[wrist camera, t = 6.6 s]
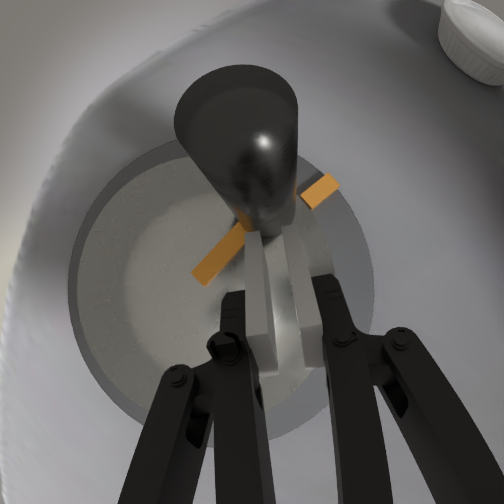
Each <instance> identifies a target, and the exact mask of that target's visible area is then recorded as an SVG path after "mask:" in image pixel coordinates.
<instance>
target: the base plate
mask: <svg viewBox="0 0 504 504" xmlns="http://www.w3.org/2000/svg"><path fill="white" fill-rule="evenodd" d="M185 157H190V156H189V155H188V153H187V152H186V151H185V149H184V148H183V147H182V145H181V144H180V142H179V140H175V141H171V142H169V143H166V144H164V145H162V146H159V147H157V148H155V149H153V150H151V151H149V152H147V153H146V154H144V155H142V156H141V157H139V158H137V159H136V160H135V161H133V162H132V163H131V164H129V165H128V166H127V167H125V168H124V169H123V170H122V171H121V172H120V173H118V174H117V175H116V176H115V177H114V178H113V179H112V180H111V181H110V182H109V183H108V185H107V186H106V187H105V188H104V190H103V191H102V192H101V193H100V195H99V196H98V197H97V199H96V200H95V202H94V203H93V205H92V206H91V208H90V210H89V211H88V213H87V215H86V217H85V219H84V221H83V223H82V226H81V228H80V230H79V233H78V236H77V239H76V242H75V245H74V248H73V252H72V257H71V262H70V268H69V278H68V303H69V311H70V318H71V323H72V327H73V331H74V335H75V339H76V341H77V344H78V347H79V349H80V352H81V354H82V357H83V359H84V361H85V363H86V364H87V366H88V368H89V370H90V372H91V374H92V375H93V377H94V378H95V380H96V381H97V382H98V384H99V385H100V387H101V388H102V389H103V390H104V392H105V393H106V394H107V395H108V396H109V397H110V398H111V400H112V401H113V402H114V403H115V404H116V405H117V406H119V407H120V408H121V409H122V410H123V411H124V412H125V413H126V414H128V415H129V416H130V417H132V418H133V419H134V420H136V421H137V422H139V423H140V424H142V425H143V426H144V424H145V421H146V418H147V415H148V413H149V411H148V410H146V409H144V408H143V407H141V406H139V405H138V404H136V403H135V402H133V401H132V400H131V399H129V398H128V397H127V396H126V395H125V394H123V393H122V392H121V391H120V390H119V389H118V388H117V387H116V386H115V385H114V384H113V383H112V382H111V380H110V379H109V378H108V377H107V376H106V374H105V373H104V372H103V370H102V369H101V367H100V366H99V364H98V363H97V361H96V359H95V357H94V356H93V354H92V352H91V350H90V348H89V345H88V343H87V340H86V338H85V335H84V332H83V328H82V325H81V321H80V316H79V310H78V301H77V279H78V270H79V264H80V258H81V255H82V251H83V248H84V245H85V242H86V239H87V237H88V235H89V232H90V230H91V228H92V226H93V224H94V222H95V221H96V219H97V217H98V215H99V214H100V212H101V211H102V210H103V208H104V207H105V206H106V204H107V203H108V202H109V201H110V199H111V198H112V197H113V196H114V195H115V194H116V193H117V192H118V191H119V190H120V189H121V188H122V187H124V186H125V185H126V184H127V183H128V182H130V181H131V180H132V179H134V178H135V177H137V176H138V175H140V174H142V173H143V172H145V171H147V170H149V169H151V168H153V167H155V166H157V165H159V164H162V163H165V162H168V161H171V160H174V159H179V158H185ZM339 186H340V185H339V184H338V182H337V181H336V180H335V179H334V178H333V177H332V176H331V175H330V174H329V173H327V174H326V175H324V174H323V173H322V172H321V171H319V170H318V169H317V168H315V167H314V166H313V165H312V164H310V163H309V162H308V161H306V160H305V159H304V158H302V157H300V156H298V155H297V188H296V194H297V195H298V196H299V197H300V198H301V199H302V201H303V202H304V203H305V204H306V206H307V207H308V208H309V210H310V211H311V212H312V214H313V215H314V217H315V219H316V220H317V222H318V224H319V226H320V227H321V229H322V231H323V233H324V236H325V238H326V241H327V243H328V246H329V249H330V252H331V256H332V260H333V265H334V269H335V277H336V278H337V279H338V280H339V283H340V286H341V288H342V291H343V294H344V298H345V300H346V303H347V306H348V308H349V311H350V314H351V317H352V320H353V323H354V325H355V327H356V328H357V329H358V330H360V331H361V332H363V333H365V334H369V330H370V325H371V321H372V316H373V305H374V278H373V268H372V263H371V258H370V253H369V249H368V245H367V243H366V240H365V237H364V234H363V232H362V229H361V226H360V224H359V222H358V220H357V218H356V217H355V215H354V213H353V211H352V209H351V207H350V206H349V204H348V203H347V201H346V200H345V199H344V197H343V196H342V194H341V193H340V192H339V190H338V188H339ZM328 403H329V397H328V389H327V387H326V370H325V367H321V368H316V369H313V370H312V371H311V373H310V374H309V375H308V377H307V378H306V380H305V381H304V382H303V383H302V384H301V385H300V386H299V387H298V388H297V389H296V390H295V391H294V392H293V393H292V394H291V395H290V396H288V397H287V398H286V399H285V400H283V401H282V402H281V403H279V404H278V405H276V406H275V407H273V408H271V409H270V410H268V411H266V412H265V419H266V427H267V435H268V440H271V439H274V438H277V437H279V436H282V435H284V434H286V433H288V432H290V431H292V430H294V429H295V428H297V427H299V426H301V425H302V424H304V423H305V422H307V421H308V420H309V419H311V418H312V417H314V416H315V415H316V414H318V413H319V412H320V411H321V410H322V409H323V408H324V407H325V406H326V405H327V404H328ZM207 447H214V426H212V428H211V432H210V436H209V440H208V443H207Z"/></svg>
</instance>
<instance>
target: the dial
mask: <svg viewBox="0 0 504 504" xmlns="http://www.w3.org/2000/svg"><path fill="white" fill-rule="evenodd" d="M174 129H175V133H176V136H177V138H178V140H179V142H180V144H181V145H182V147H183V148H184V149H185V151H186V152H187V153H188V155H189V156H190V157H185V158H179V159H174V160H171V161H168V162H165V163H162V164H159V165H157V166H155V167H153V168H151V169H149V170H147V171H145V172H143V173H142V174H140V175H138V176H137V177H135V178H134V179H132V180H131V181H130V182H128V183H127V184H126V185H125V186H124V187H122V188H121V189H120V190H119V191H118V192H117V193H116V194H115V195H114V196H113V197H112V198H111V199H110V201H109V202H108V203H107V204H106V206H105V207H104V208H103V210H102V211H101V212H100V214H99V215H98V217H97V219H96V221H95V222H94V224H93V226H92V228H91V230H90V232H89V235H88V237H87V239H86V242H85V245H84V248H83V251H82V255H81V258H80V264H79V270H78V279H77V301H78V310H79V316H80V321H81V325H82V328H83V332H84V335H85V338H86V340H87V343H88V345H89V348H90V350H91V352H92V354H93V356H94V357H95V359H96V361H97V363H98V364H99V366H100V367H101V369H102V370H103V372H104V373H105V374H106V376H107V377H108V378H109V379H110V380H111V382H112V383H113V384H114V385H115V386H116V387H117V388H118V389H119V390H120V391H121V392H122V393H123V394H125V395H126V396H127V397H128V398H129V399H131V400H132V401H133V402H135V403H136V404H138V405H139V406H141V407H143V408H144V409H146V410H148V411H149V410H150V407H151V404H152V402H153V399H154V396H155V393H156V391H157V388H158V385H159V383H160V380H161V377H162V375H163V374H164V372H165V371H166V370H167V369H168V368H169V367H171V366H174V365H176V364H185V365H188V366H189V367H190V368H193V367H196V366H199V365H201V364H204V363H206V362H208V361H209V360H210V359H211V358H212V357H211V355H210V354H209V352H208V350H207V348H206V345H207V341H208V340H209V338H210V337H211V336H212V335H213V334H215V333H216V332H218V331H219V328H220V313H221V301H222V299H223V298H224V296H225V294H226V292H232V291H239V290H245V233H248V232H254V231H259V230H260V235H261V239H262V244H263V248H264V253H265V257H266V262H267V266H268V271H269V279H270V288H271V297H272V307H273V317H274V326H275V336H276V346H277V357H278V367H279V375H273V376H266V377H260V374H259V382H260V385H261V388H262V394H263V402H264V411H265V412H266V411H268V410H270V409H271V408H273V407H275V406H276V405H278V404H279V403H281V402H282V401H283V400H285V399H286V398H287V397H288V396H290V395H291V394H292V393H293V392H294V391H295V390H296V389H297V388H298V387H299V386H300V385H301V384H302V383H303V382H304V381H305V380H306V378H307V377H308V375H309V374H310V373H311V371H312V370H313V369H310V370H306V368H305V362H304V356H303V350H302V344H301V338H300V332H299V326H298V320H297V314H296V309H295V303H294V297H293V292H292V286H291V281H290V276H289V270H288V264H287V259H286V253H285V247H284V241H283V236H282V230H281V226H286V225H292V224H296V226H297V230H298V233H299V237H300V240H301V244H302V248H303V251H304V255H305V258H306V262H307V266H308V270H309V273H310V277H314V276H320V275H325V274H330V273H331V274H332V275H334V276H335V269H334V265H333V260H332V256H331V252H330V249H329V246H328V243H327V241H326V238H325V236H324V233H323V231H322V229H321V227H320V226H319V224H318V222H317V220H316V219H315V217H314V215H313V214H312V212H311V211H310V210H309V208H308V207H307V206H306V204H305V203H304V202H303V201H302V199H301V198H300V197H299V196H298V195H297V194H296V188H297V149H298V104H297V99H296V96H295V93H294V91H293V89H292V88H291V86H290V85H289V84H288V83H287V81H286V80H284V79H283V78H282V77H281V76H280V75H278V74H277V73H275V72H273V71H271V70H269V69H266V68H263V67H259V66H254V65H232V66H226V67H222V68H219V69H216V70H214V71H211V72H209V73H207V74H205V75H204V76H202V77H201V78H199V79H198V80H196V81H195V82H194V83H193V84H192V85H191V86H190V87H189V88H188V89H187V90H186V91H185V92H184V94H183V95H182V97H181V98H180V100H179V102H178V104H177V107H176V110H175V115H174ZM212 426H214V423H213V424H212Z"/></svg>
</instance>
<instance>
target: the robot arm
mask: <svg viewBox="0 0 504 504" xmlns="http://www.w3.org/2000/svg"><path fill="white" fill-rule="evenodd" d="M281 230H282V236H283V241H284V247H285V253H286V259H287V264H288V270H289V276H290V281H291V286H292V292H293V297H294V303H295V309H296V314H297V320H298V326H299V332H300V338H301V344H302V350H303V356H304V362H305V368H306V370H310V369H316V368H321V367H325V370H326V387H327V389H328V397H329V406H330V414H331V423H332V433H333V443H334V453H335V464H336V477H337V490H338V504H393V497H392V489H391V482H390V475H389V468H388V461H387V455H386V449H385V443H384V437H383V432H382V426H381V421H380V416H379V411H378V406H377V401H376V396H375V392H374V387H373V385H374V386H377V387H378V389H379V391H380V392H381V394H382V396H383V398H384V400H385V402H386V404H387V406H388V408H389V409H390V411H391V413H392V415H393V417H394V419H395V421H396V423H397V425H398V427H399V429H400V431H401V433H402V435H403V437H404V438H405V440H406V442H407V444H408V446H409V448H410V450H411V452H412V454H413V456H414V458H415V461H416V463H417V465H418V467H419V469H420V471H421V473H422V475H423V477H424V479H425V481H426V483H427V485H428V487H429V490H430V492H431V494H432V496H433V498H434V500H435V503H436V504H504V475H503V473H502V471H501V469H500V467H499V465H498V463H497V461H496V460H495V458H494V456H493V454H492V452H491V450H490V449H489V447H488V445H487V443H486V442H485V440H484V438H483V436H482V435H481V433H480V431H479V429H478V428H477V426H476V424H475V423H474V421H473V419H472V418H471V416H470V414H469V413H468V411H467V410H466V408H465V406H464V405H463V403H462V402H461V400H460V398H459V397H458V395H457V394H456V392H455V391H454V389H453V388H452V386H451V384H450V383H449V381H448V380H447V378H446V377H445V375H444V374H443V372H442V371H441V369H440V368H439V366H438V365H437V364H436V362H435V361H434V359H433V358H432V356H431V355H430V353H429V352H428V351H427V349H426V348H425V346H424V345H423V343H422V342H421V341H420V339H419V338H418V336H417V335H416V334H415V333H414V332H413V331H412V330H410V329H408V328H405V327H397V328H393V329H391V330H389V331H388V332H387V333H386V334H385V336H381V335H369V334H365V333H363V332H361V331H360V330H358V329H357V328H356V327H355V325H354V323H353V320H352V317H351V314H350V311H349V308H348V306H347V303H346V300H345V298H344V294H343V291H342V288H341V286H340V283H339V280H338V279H337V278H336V277H335V276H334V275H332V274H331V273H330V274H325V275H320V276H314V277H310V273H309V270H308V266H307V262H306V258H305V255H304V251H303V248H302V244H301V240H300V237H299V233H298V230H297V226H296V224H292V225H286V226H281ZM206 348H207V350H208V352H209V354H210V355H211V357H212V358H211V359H210V360H209V361H208V362H206V363H204V364H201V365H199V366H196V367H193V368H190V367H189V366H188V365H185V364H176V365H174V366H171V367H169V368H168V369H167V370H166V371H165V372H164V374H163V375H162V377H161V380H160V383H159V385H158V388H157V391H156V393H155V396H154V399H153V402H152V404H151V407H150V410H149V413H148V415H147V418H146V421H145V424H144V427H143V429H142V432H141V435H140V438H139V441H138V444H137V446H136V449H135V452H134V455H133V458H132V461H131V464H130V467H129V470H128V473H127V476H126V479H125V482H124V485H123V488H122V491H121V494H120V497H119V500H118V504H192V503H193V499H194V495H195V491H196V487H197V483H198V479H199V475H200V471H201V467H202V463H203V459H204V455H205V451H206V447H207V443H208V440H209V436H210V432H211V428H212V424H213V423H214V462H215V488H216V504H276V500H275V492H274V484H273V476H272V468H271V460H270V452H269V444H268V435H267V427H266V419H265V411H264V402H263V394H262V388H261V385H260V382H259V374H260V377H266V376H273V375H279V367H278V357H277V346H276V336H275V326H274V317H273V307H272V297H271V288H270V279H269V271H268V266H267V262H266V257H265V253H264V248H263V244H262V239H261V235H260V230H259V231H254V232H248V233H245V290H239V291H232V292H226V294H225V296H224V298H223V299H222V301H221V313H220V328H219V331H218V332H216V333H215V334H213V335H212V336H211V337H210V338H209V340H208V341H207V345H206Z"/></svg>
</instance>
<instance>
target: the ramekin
mask: <svg viewBox="0 0 504 504" xmlns="http://www.w3.org/2000/svg"><path fill="white" fill-rule="evenodd" d="M438 38H439V41H440V44H441V47H442V49H443V50H444V52H445V53H446V55H447V56H448V57H449V59H450V60H451V61H452V62H453V63H454V64H455V65H456V66H457V67H458V68H459V69H461V70H462V71H463V72H464V73H466V74H467V75H469V76H470V77H472V78H473V79H475V80H477V81H479V82H481V83H484V84H487V85H495V86H497V85H502V84H504V22H503V21H502V20H501V19H500V18H499V17H497V16H496V15H494V14H493V13H492V12H491V11H489V10H488V9H486V8H484V7H483V6H481V5H479V4H477V3H475V2H473V1H471V0H444V1H443V3H442V5H441V17H440V22H439V27H438Z"/></svg>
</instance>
